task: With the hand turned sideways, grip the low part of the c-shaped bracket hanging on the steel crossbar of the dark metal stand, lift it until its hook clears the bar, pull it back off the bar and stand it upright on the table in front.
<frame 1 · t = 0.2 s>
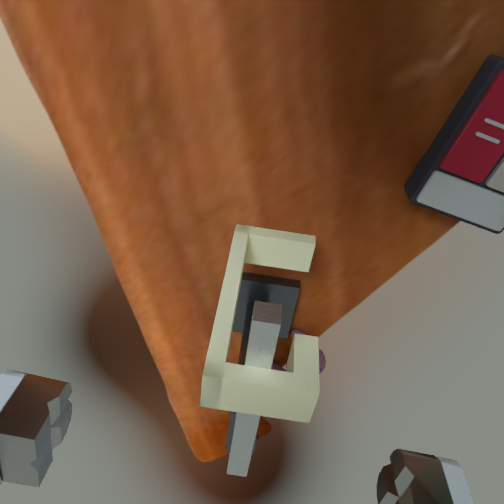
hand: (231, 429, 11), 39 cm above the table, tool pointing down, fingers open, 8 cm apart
c-shaped bracket: (241, 239, 50), point 5 cm above the table, touching hook stand
video game controller: (295, 349, 68), on the table
calculator: (487, 143, 46), on the table
hook stand: (258, 301, 62), on the table
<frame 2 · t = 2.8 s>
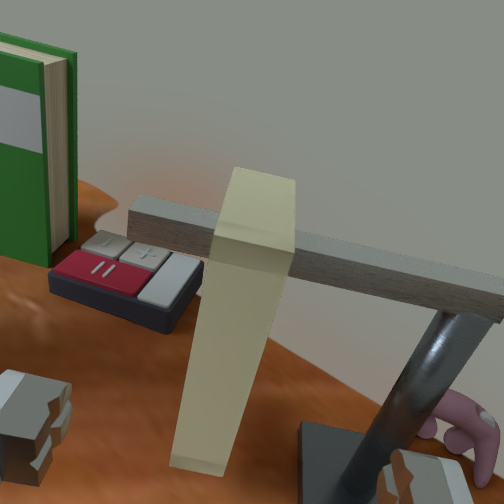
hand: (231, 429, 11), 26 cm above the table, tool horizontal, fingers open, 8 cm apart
c-shaped bracket: (197, 462, 33), point 5 cm above the table, touching hook stand
video game controller: (433, 446, 45), on the table
calculator: (129, 290, 55), on the table
hook stand: (353, 491, 39), on the table
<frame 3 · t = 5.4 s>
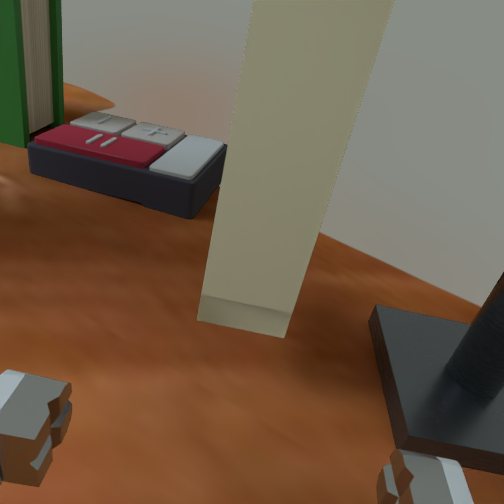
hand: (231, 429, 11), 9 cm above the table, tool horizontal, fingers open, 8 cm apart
c-shaped bracket: (242, 318, 20), point 5 cm above the table, touching hook stand
calculator: (135, 179, 43), on the table
hook stand: (461, 393, 26), on the table
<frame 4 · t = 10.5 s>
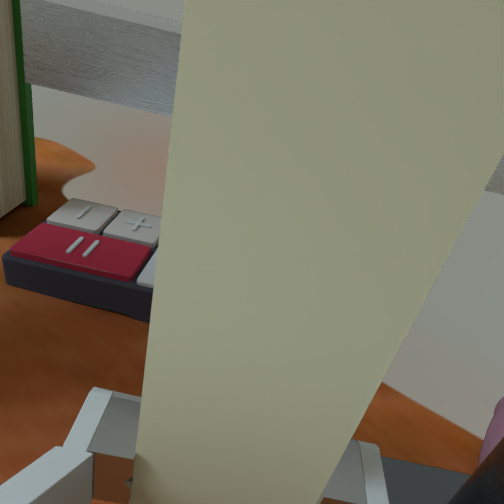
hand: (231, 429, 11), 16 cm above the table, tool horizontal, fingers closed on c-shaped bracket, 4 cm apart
calculator: (119, 275, 41), on the table
when the fingers open (6 cm above the table, at t = 13.5 s): c-shaped bracket drops 2 cm, on the table.
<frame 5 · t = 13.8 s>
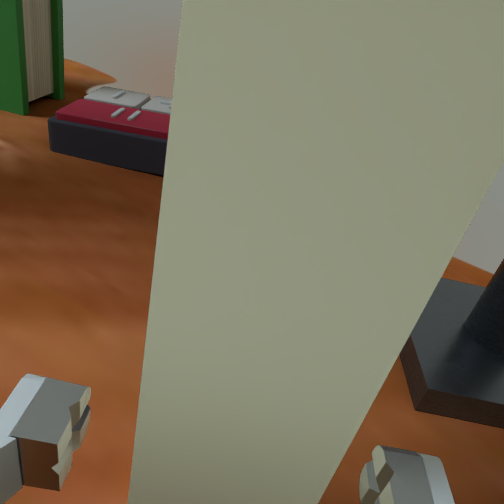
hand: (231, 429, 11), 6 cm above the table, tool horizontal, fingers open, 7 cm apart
calculator: (156, 155, 41), on the table
hook stand: (479, 354, 25), on the table
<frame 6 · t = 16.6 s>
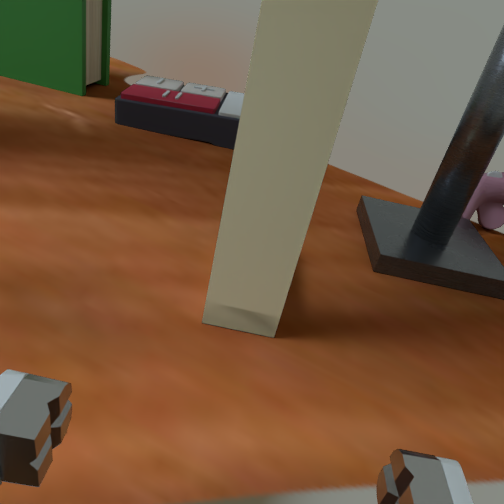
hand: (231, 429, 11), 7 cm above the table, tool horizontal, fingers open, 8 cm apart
c-shaped bracket: (239, 321, 25), on the table
video game controller: (500, 239, 42), on the table
calculator: (192, 128, 52), on the table
hardback book: (29, 74, 56), on the table
hook stand: (422, 249, 37), on the table
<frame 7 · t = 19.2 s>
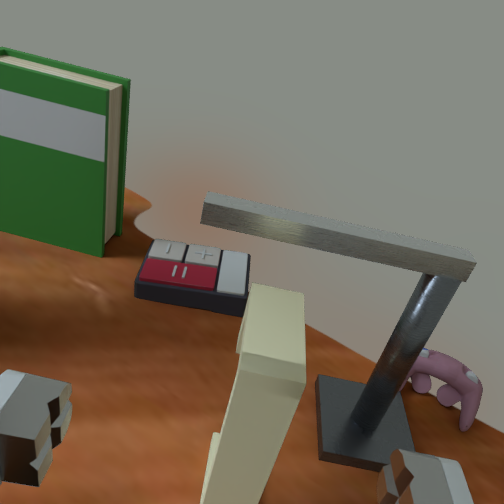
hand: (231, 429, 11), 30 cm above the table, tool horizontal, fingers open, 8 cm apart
video game controller: (428, 400, 55), on the table
calculator: (194, 286, 65), on the table
hardback book: (57, 231, 68), on the table
hook stand: (360, 426, 49), on the table
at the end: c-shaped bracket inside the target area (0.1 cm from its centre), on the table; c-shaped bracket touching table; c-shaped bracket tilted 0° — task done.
